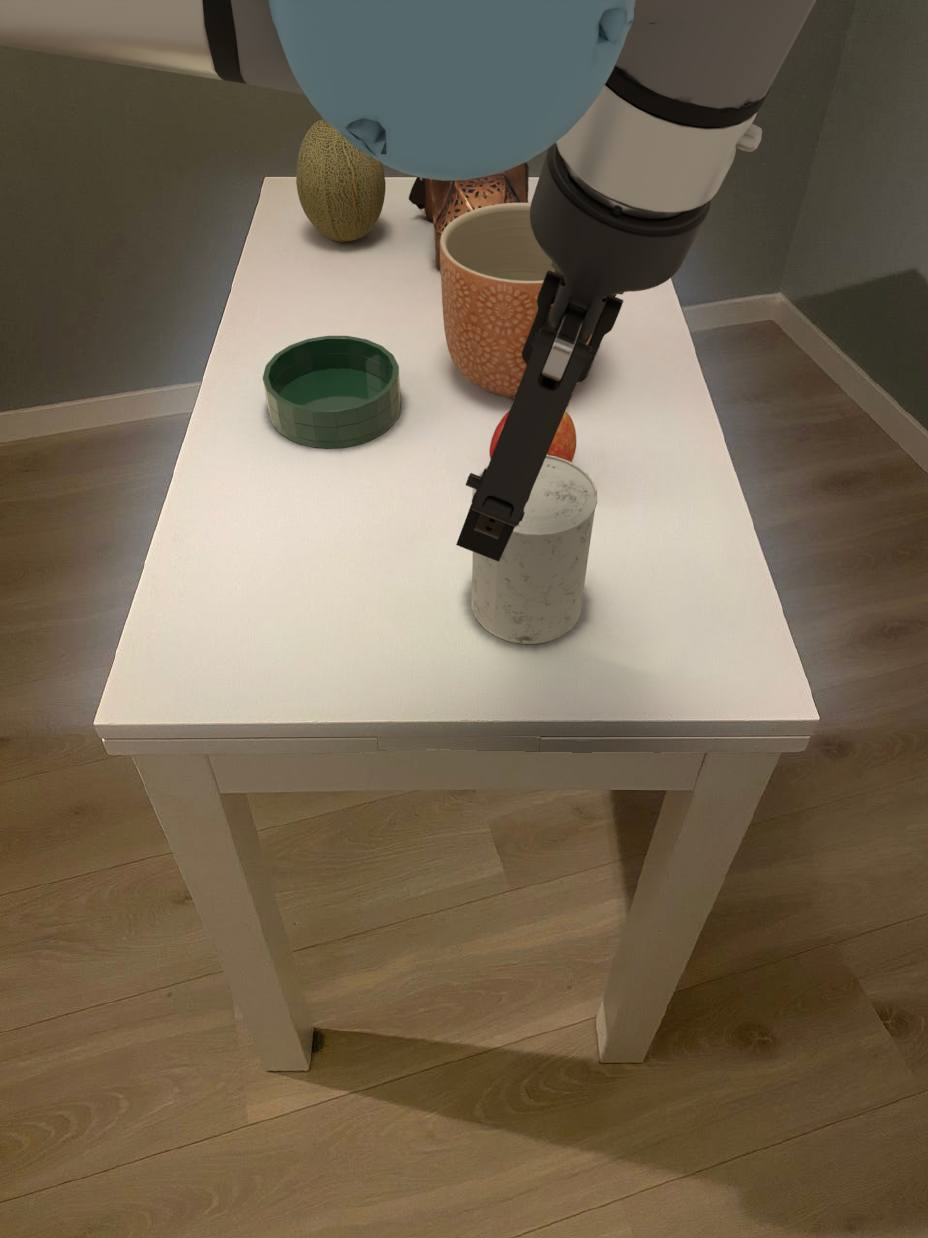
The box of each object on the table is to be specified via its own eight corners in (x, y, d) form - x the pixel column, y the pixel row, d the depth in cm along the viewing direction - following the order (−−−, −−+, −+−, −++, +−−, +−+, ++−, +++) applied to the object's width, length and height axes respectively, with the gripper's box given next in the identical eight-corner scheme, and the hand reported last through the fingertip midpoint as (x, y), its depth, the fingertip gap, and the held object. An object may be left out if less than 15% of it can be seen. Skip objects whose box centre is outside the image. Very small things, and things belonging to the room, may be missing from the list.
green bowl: (310, 465, 93) (305, 428, 89) (247, 399, 100) (239, 362, 97) (425, 417, 98) (424, 380, 95) (357, 357, 106) (353, 321, 102)
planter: (578, 327, 110) (591, 197, 99) (610, 412, 99) (629, 277, 88) (435, 336, 109) (432, 205, 97) (450, 423, 97) (449, 287, 86)
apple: (478, 490, 90) (479, 422, 84) (510, 441, 95) (514, 374, 89) (555, 513, 88) (562, 444, 82) (584, 462, 93) (593, 394, 87)
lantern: (454, 258, 134) (490, 342, 117) (375, 174, 124) (401, 253, 107) (542, 174, 128) (592, 250, 111) (465, 79, 118) (508, 146, 101)
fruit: (393, 218, 129) (386, 101, 118) (382, 257, 121) (374, 136, 110) (311, 215, 129) (297, 98, 118) (295, 254, 122) (279, 133, 111)
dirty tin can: (541, 662, 76) (552, 553, 67) (448, 609, 80) (447, 499, 71) (602, 594, 81) (621, 484, 72) (512, 548, 85) (519, 438, 76)
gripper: (658, 394, 34) (511, 651, 52) (756, 53, 47) (611, 355, 65) (465, 317, 34) (386, 601, 52) (617, -4, 46) (511, 315, 65)
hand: (511, 465), depth 58 cm, fingers open, 13 cm apart
